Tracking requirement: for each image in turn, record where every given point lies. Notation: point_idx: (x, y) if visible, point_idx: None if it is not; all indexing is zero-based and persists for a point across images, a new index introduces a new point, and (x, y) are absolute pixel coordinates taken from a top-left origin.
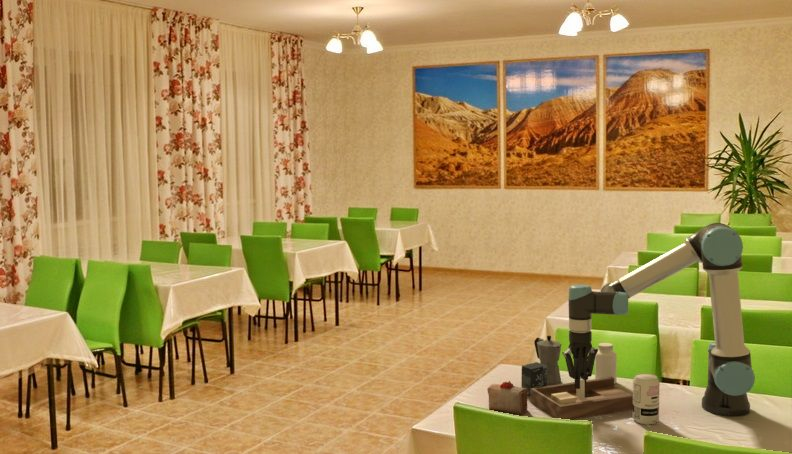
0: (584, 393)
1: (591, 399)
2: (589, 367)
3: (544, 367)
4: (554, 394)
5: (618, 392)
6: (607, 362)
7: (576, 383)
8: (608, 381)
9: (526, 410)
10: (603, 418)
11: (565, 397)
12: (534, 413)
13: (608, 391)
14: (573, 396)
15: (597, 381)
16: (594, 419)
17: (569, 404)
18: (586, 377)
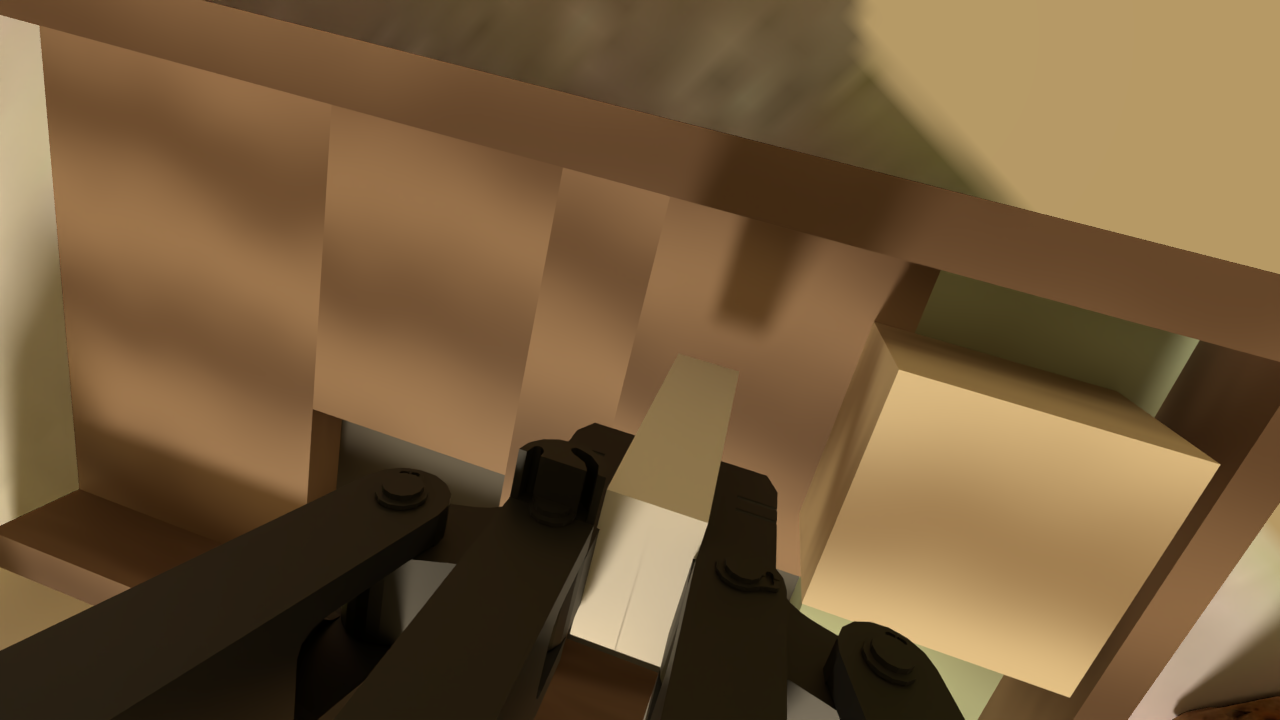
0: (667, 378)
1: (484, 402)
2: (245, 665)
3: None
4: (1042, 657)
5: (134, 353)
6: None
7: (770, 550)
8: (78, 537)
9: (1222, 712)
10: (709, 5)
11: (1040, 474)
12: (1204, 618)
13: (199, 433)
14: (892, 420)
15: None
16: (826, 48)
17: (1164, 289)
18: (536, 498)
